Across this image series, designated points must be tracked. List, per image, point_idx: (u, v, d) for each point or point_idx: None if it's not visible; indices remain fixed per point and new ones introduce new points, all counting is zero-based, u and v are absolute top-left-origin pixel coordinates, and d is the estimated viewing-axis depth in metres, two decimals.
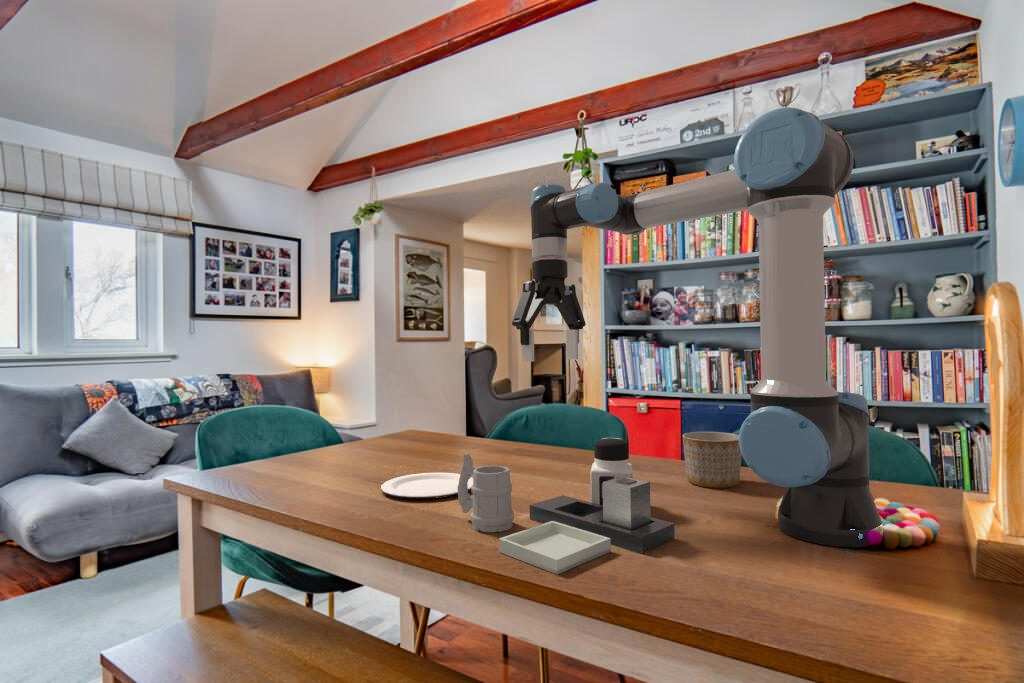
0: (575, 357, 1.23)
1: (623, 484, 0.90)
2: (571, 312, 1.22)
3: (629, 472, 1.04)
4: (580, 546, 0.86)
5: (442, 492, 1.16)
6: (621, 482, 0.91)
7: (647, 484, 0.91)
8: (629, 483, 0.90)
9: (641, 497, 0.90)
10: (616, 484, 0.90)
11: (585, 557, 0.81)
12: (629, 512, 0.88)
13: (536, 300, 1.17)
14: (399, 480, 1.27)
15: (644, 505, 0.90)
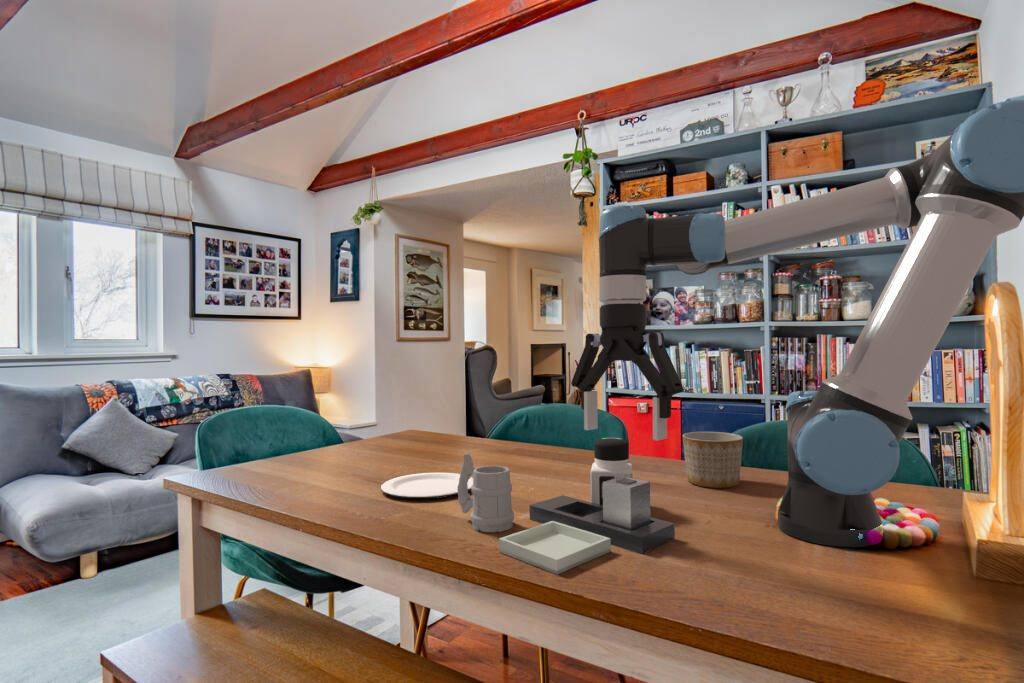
0: None
1: (623, 484, 0.90)
2: (647, 372, 0.87)
3: (629, 472, 1.04)
4: (580, 546, 0.86)
5: (442, 492, 1.16)
6: (621, 482, 0.91)
7: (647, 484, 0.91)
8: (629, 483, 0.90)
9: (641, 497, 0.90)
10: (616, 484, 0.90)
11: (585, 557, 0.81)
12: (629, 512, 0.88)
13: None
14: (399, 480, 1.27)
15: (644, 505, 0.90)
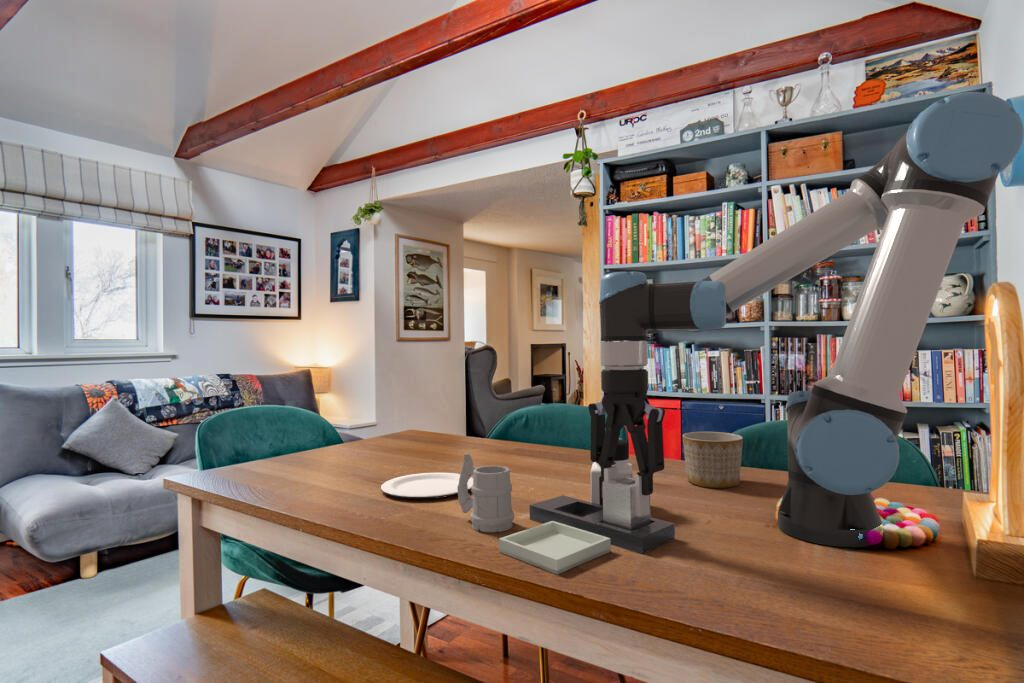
0: None
1: (623, 484, 0.90)
2: (637, 446, 0.89)
3: (629, 472, 1.04)
4: (580, 546, 0.86)
5: (442, 492, 1.16)
6: (621, 482, 0.91)
7: None
8: (629, 483, 0.90)
9: None
10: (616, 484, 0.90)
11: (585, 557, 0.81)
12: (629, 512, 0.88)
13: None
14: (399, 480, 1.27)
15: None
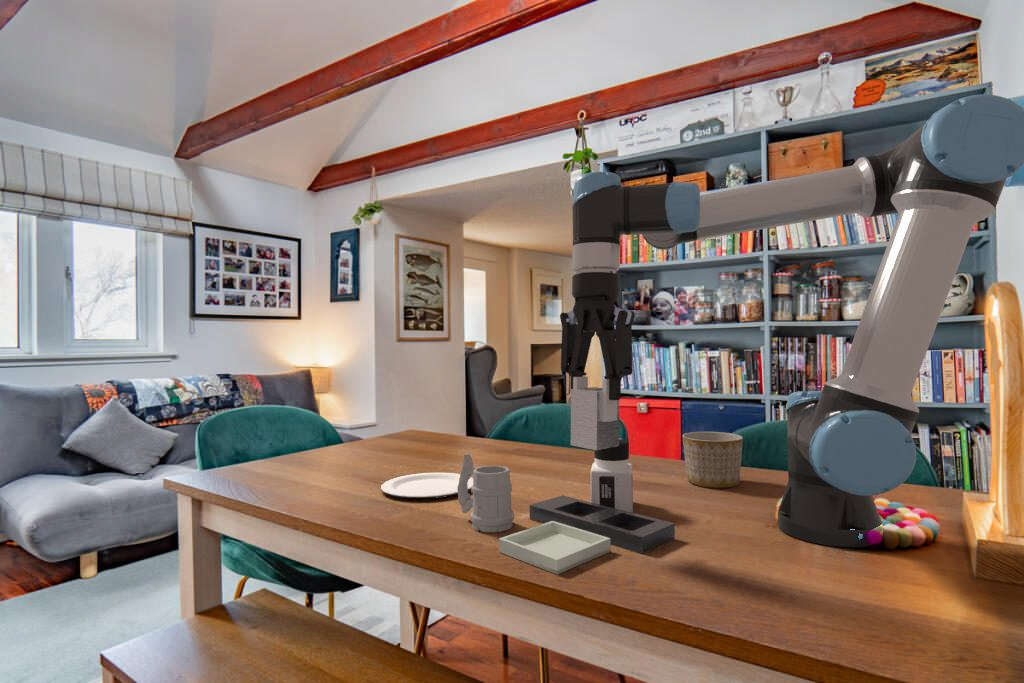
0: None
1: (591, 390, 0.88)
2: (605, 350, 0.87)
3: (629, 472, 1.04)
4: (580, 546, 0.86)
5: (442, 492, 1.16)
6: (589, 389, 0.89)
7: None
8: (597, 389, 0.88)
9: None
10: (584, 390, 0.88)
11: (585, 557, 0.81)
12: (596, 416, 0.86)
13: None
14: (399, 480, 1.27)
15: None
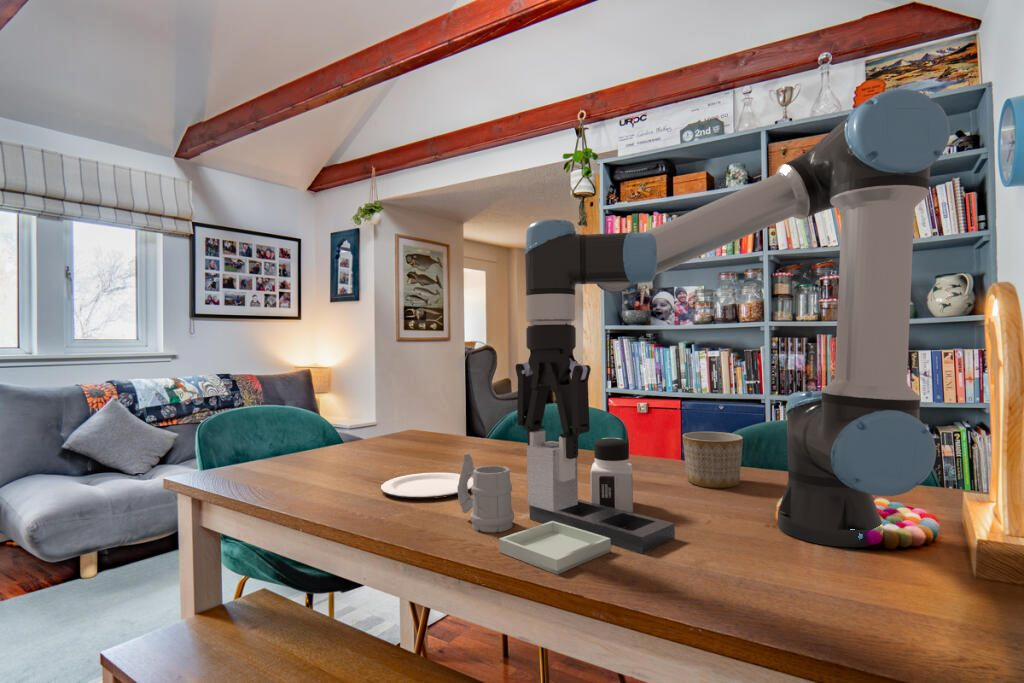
0: None
1: (547, 447, 0.84)
2: (561, 406, 0.83)
3: (629, 472, 1.04)
4: (580, 546, 0.86)
5: (442, 492, 1.16)
6: (546, 445, 0.85)
7: None
8: (554, 446, 0.84)
9: None
10: (540, 447, 0.84)
11: (585, 557, 0.81)
12: (552, 476, 0.82)
13: None
14: (399, 480, 1.27)
15: None
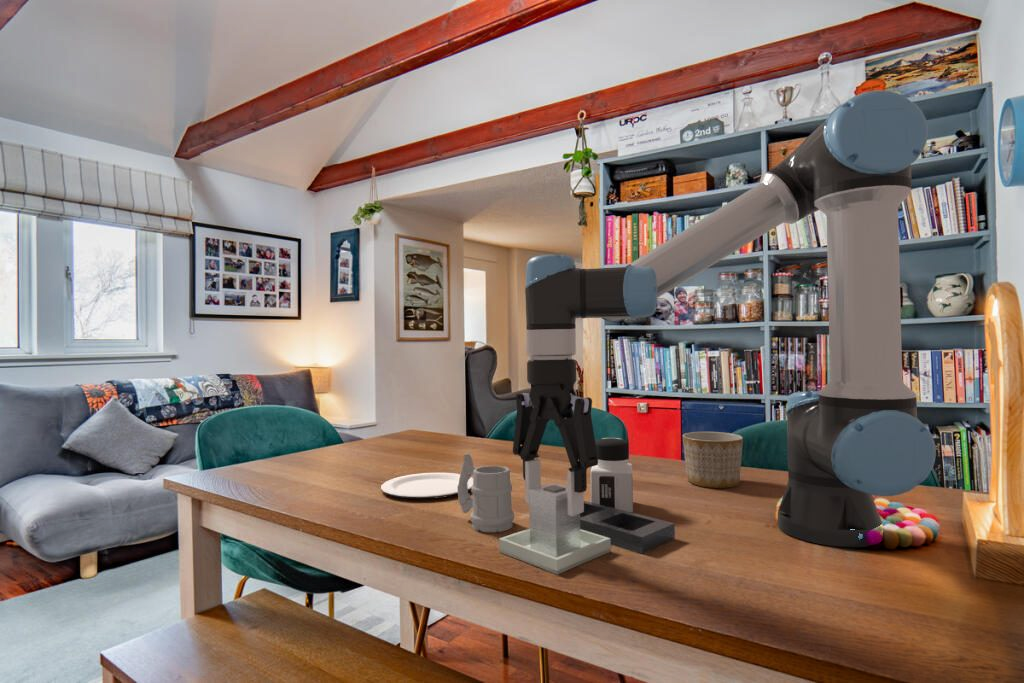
0: None
1: (550, 492, 0.84)
2: (566, 440, 0.82)
3: (629, 472, 1.04)
4: None
5: (442, 492, 1.16)
6: (548, 489, 0.85)
7: None
8: (556, 491, 0.84)
9: None
10: (542, 492, 0.84)
11: (585, 557, 0.81)
12: (555, 522, 0.82)
13: None
14: (399, 480, 1.27)
15: None
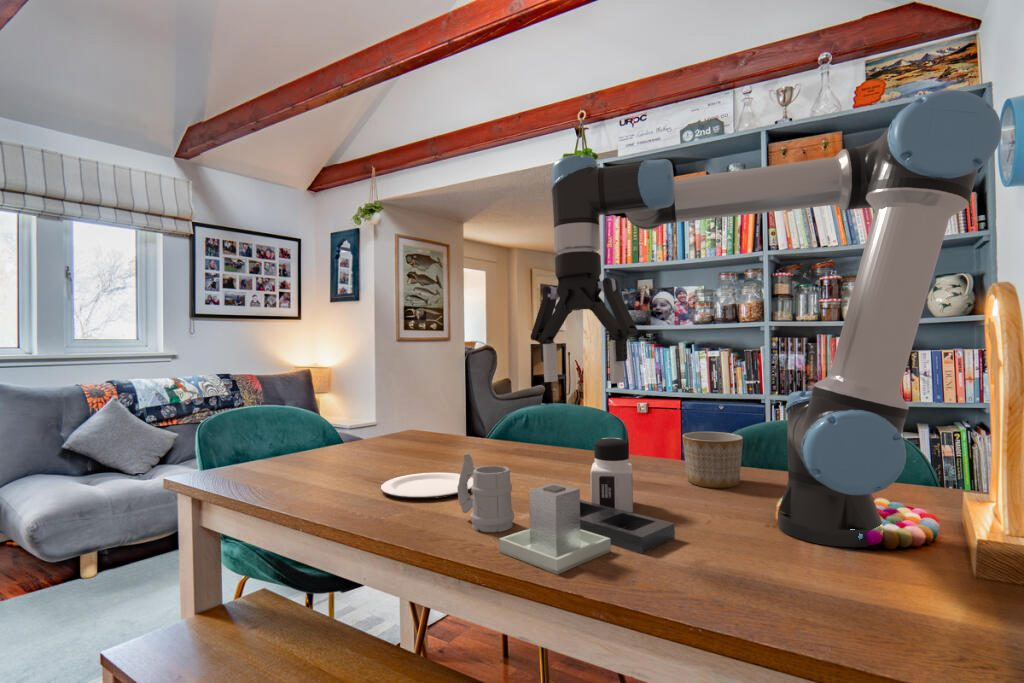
0: None
1: (550, 492, 0.84)
2: (602, 317, 0.88)
3: (629, 472, 1.04)
4: None
5: (442, 492, 1.16)
6: (548, 489, 0.85)
7: (576, 491, 0.85)
8: (556, 491, 0.84)
9: (569, 506, 0.84)
10: (542, 492, 0.84)
11: (585, 557, 0.81)
12: (555, 522, 0.82)
13: None
14: (399, 480, 1.27)
15: (572, 514, 0.84)
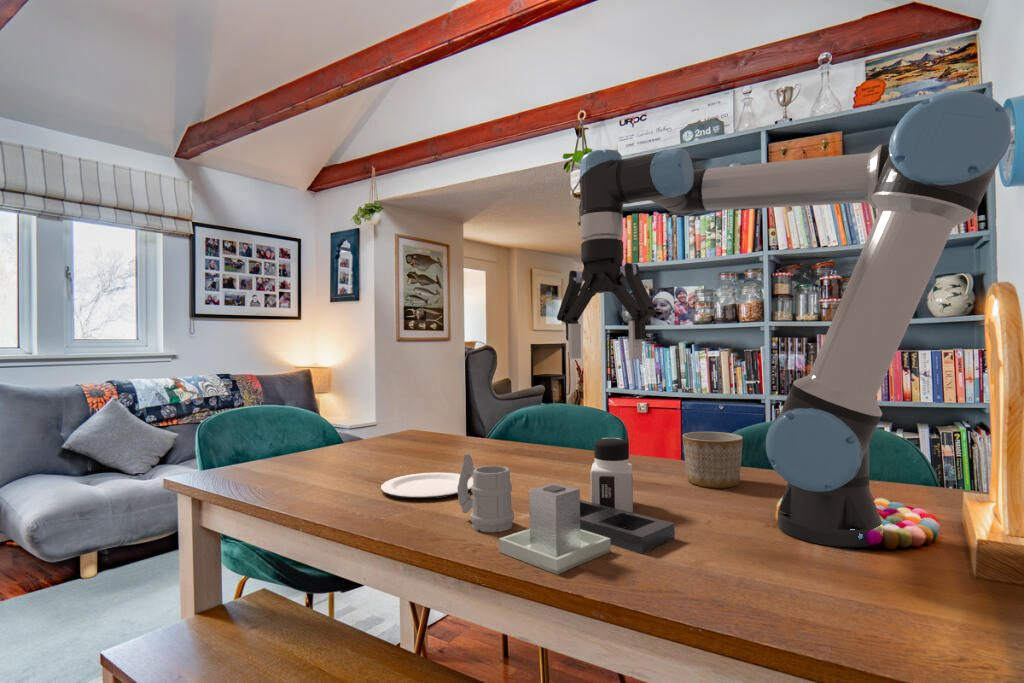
0: None
1: (550, 492, 0.84)
2: (623, 299, 0.96)
3: (629, 472, 1.04)
4: None
5: (442, 492, 1.16)
6: (548, 489, 0.85)
7: (576, 491, 0.85)
8: (556, 491, 0.84)
9: (569, 506, 0.84)
10: (542, 492, 0.84)
11: (585, 557, 0.81)
12: (555, 522, 0.82)
13: None
14: (399, 480, 1.27)
15: (572, 514, 0.84)
